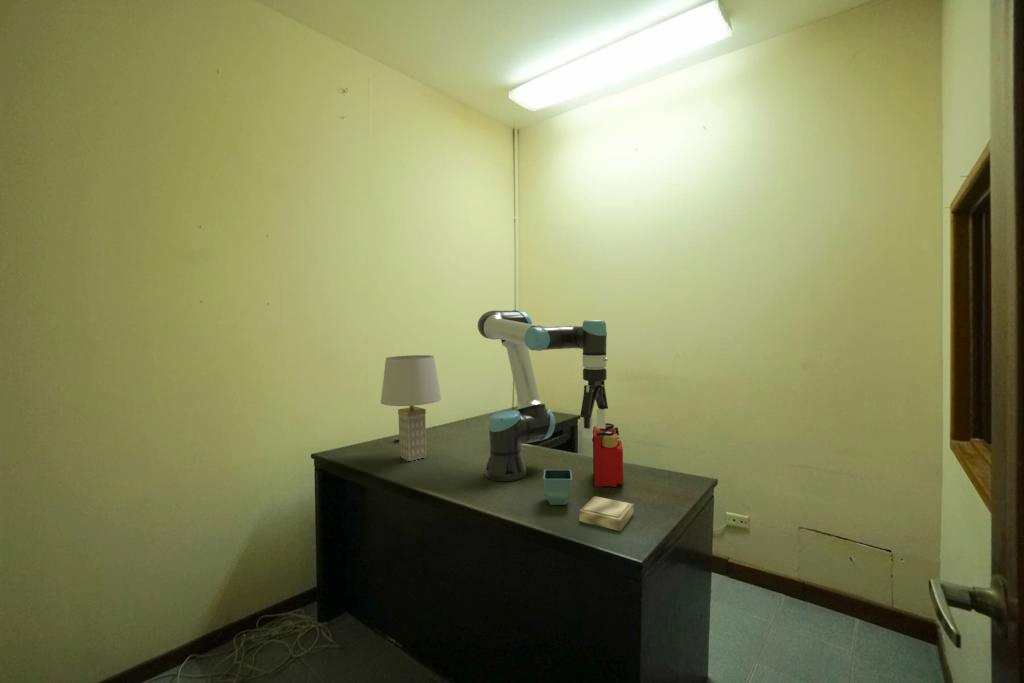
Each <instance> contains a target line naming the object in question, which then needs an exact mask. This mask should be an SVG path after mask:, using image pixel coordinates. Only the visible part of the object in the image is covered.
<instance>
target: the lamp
mask: <svg viewBox="0 0 1024 683" xmlns="http://www.w3.org/2000/svg"><path fill="white" fill-rule="evenodd" d="M382 379H383V380H382V388H381V396H380V404H381V405H384V406H389V407H390V406H391V407H403V408H398V409H397V414H398V441H399V457H400V456H401V457H403V458H405V459H407V460H413V459H418V458H422V457H426V458H427V431H426V430H427V428H426V427H427V426H426V424H427V423H426V414H427V413H426V408H423V407H420V406H421V405H424V406H425V405H429V404H430V405H431V404H434V403H438V402H441V400H442V395H441V390H440V384H439V378H438V373H437V367H436V361H435V356H434V355H431V354H427V355H426V354H419V355H418V354H415V355H410V354H409V355H395V356H387V357H385V363H384V372H383V378H382ZM405 406H406V407H405ZM418 406H419V407H418Z"/></svg>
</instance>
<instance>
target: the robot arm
mask: <svg viewBox="0 0 1024 683" xmlns="http://www.w3.org/2000/svg"><path fill="white" fill-rule="evenodd" d="M477 330H478V332H479V334H480V335H481V336H482V337H483V338H485V339H489V340H500V342H501V345H502V346H503V347H504V348H505V349H506V352H507V355H508V360H509V361H508V362H509V364H510V370H511V375H512V379H513V383H514V384H513V385H514V389H515V393H516V397H517V402H518V406H517V408H516V410H515V409H508V410H507V409H505V410H501V411H497V412H495V413H493V414H492V415H491V416H490V417H489V422H488V424H489V425H488V429H489V430H488V431H489V432H488V433H489V456H488V461H487V464H486V467H485V476H486V478H488V479H489V480H491V481H495V482H512V481H513V482H514V481H517V480H518V481H519V480H521V479H523V478H525V477H526V475H527V469H526V465H525V462H524V459H523V455H522V452H521V451H522V449H521V448H522V445H525V444H528V443H529V444H530V443H534V442H541V441H544V440H547V439H549V438H550V437H552V435H553V434H554V431H555V427H556V420H555V415H554V413H553V412H552V411H551V410H550V409H549V408H548V409H547V408H546V404H545V402H543V401H541V399H540V395H539V391H538V385H537V382H536V378H535V372H534V369H533V364H532V360H531V356H530V351H536V352H537V351H539V352H541V351H547V350H548V351H549V350H566V349H579V350H580V349H582V367H583V369H582V380H583V381H587V385H586V384H584V386H583V396H582V402H581V407H580V408H581V409H580V415H579V417H580V418H583V420H582V422H583V424H582V425H583V426H582V428H583V431H582V432H583V433H582V434H583V435H582V437H583V439H590V440H592V438H593V417H592V414H593V410H594V406H595V402H596V406H597V409H596V426H597V428H602V429H605V423H606V410H608V408H609V405H608V399H607V394H606V387H605V384H606V383H605V381H606V380H607V376H608V374H607V369H606V367H607V362H608V361H609V358H607V339H608V335H607V334H608V332H607V323H606V321H605V320H600V319H599V320H598V319H596V320H595V319H593V320H584V321H583V322H582V326H580V325H579V326H578V325H577V326H576V325H575V326H574V325H563V326H541V325H537V324H533V321H532V319H531V317H530V315H529V314H528V313H526V312H524V311H522V310H515V309H513V310H489V311H487V312H484V313H483V314H482V315H481V316H480V317H479V318H478V320H477ZM529 350H530V351H529Z"/></svg>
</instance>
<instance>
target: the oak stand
mask: <svg viewBox="0 0 1024 683" xmlns="http://www.w3.org/2000/svg"><path fill="white" fill-rule="evenodd" d="M634 510H635V508H634V503H630V502H625V501H621V500H615V499H611V498H605V497H601V496H597V495H596V496H595V495H594V496H593V497H592V498H591V499H590V500H589V501H587V503H586V504H585V505H584V506H582V508H580V509H579V511H578V517H579V518H578V521H579V522H582V523H586V524H590V525H592V526H593V525H594V526H597V527H602V528H606V529H611V530H614V531H619V532H622V531H623V529H624V527H626V524H628V522H629V521H630V519H631V518H632V517H633V515H634V512H635V511H634Z"/></svg>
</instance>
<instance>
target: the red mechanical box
mask: <svg viewBox="0 0 1024 683" xmlns="http://www.w3.org/2000/svg"><path fill="white" fill-rule="evenodd" d="M619 439H620V430H619V427H617V426H615V424H613V423H609V422H607V423H606V422H605V429H602V428H597V425H595V426H594V425H593V426H592V439H591V440H592V455H593V456H592V460H593V461H592V463H593V468H592V469H593V473H592V474H593V478H592V482H593V486H594V487H598V488H600V487H601V488H602V487H618V485H624V450H623V448H624V447H623V445H622V444H623V443H622V440H619Z"/></svg>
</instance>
